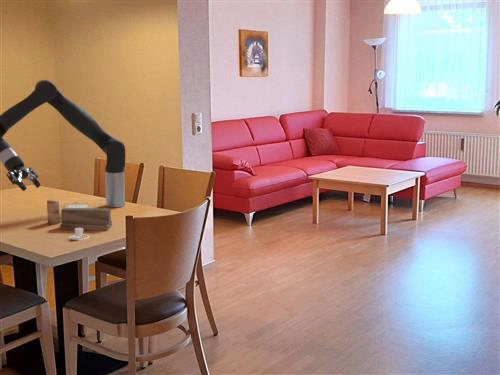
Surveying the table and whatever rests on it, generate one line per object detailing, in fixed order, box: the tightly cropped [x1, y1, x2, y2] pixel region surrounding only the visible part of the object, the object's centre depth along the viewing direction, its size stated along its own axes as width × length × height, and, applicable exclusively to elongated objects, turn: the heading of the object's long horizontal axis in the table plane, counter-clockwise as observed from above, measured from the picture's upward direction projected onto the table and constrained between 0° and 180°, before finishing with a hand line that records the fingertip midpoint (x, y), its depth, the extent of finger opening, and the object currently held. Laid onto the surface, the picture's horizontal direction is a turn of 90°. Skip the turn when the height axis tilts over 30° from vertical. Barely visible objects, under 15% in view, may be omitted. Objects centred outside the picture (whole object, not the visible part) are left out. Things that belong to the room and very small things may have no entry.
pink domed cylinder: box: [46, 199, 61, 225], centre depth 271 cm, size 5×5×10 cm
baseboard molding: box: [63, 201, 89, 208], centre depth 289 cm, size 31×3×12 cm
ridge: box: [59, 207, 113, 231], centre depth 264 cm, size 9×20×8 cm, turn 91°
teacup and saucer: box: [68, 228, 90, 241], centre depth 249 cm, size 9×8×4 cm
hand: (32, 188), depth 273 cm, fingers open, 8 cm apart
